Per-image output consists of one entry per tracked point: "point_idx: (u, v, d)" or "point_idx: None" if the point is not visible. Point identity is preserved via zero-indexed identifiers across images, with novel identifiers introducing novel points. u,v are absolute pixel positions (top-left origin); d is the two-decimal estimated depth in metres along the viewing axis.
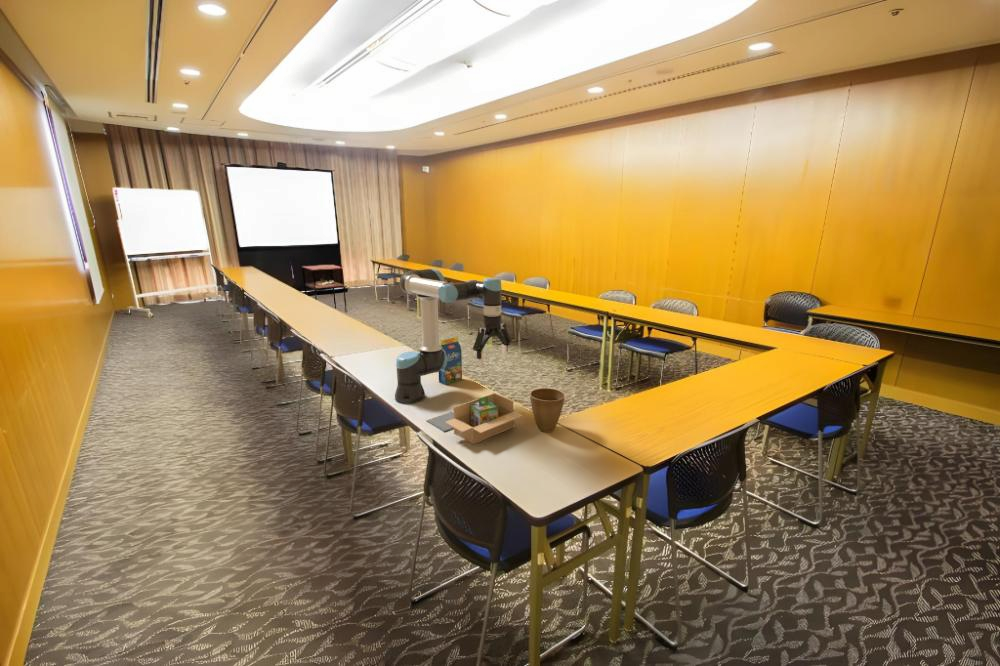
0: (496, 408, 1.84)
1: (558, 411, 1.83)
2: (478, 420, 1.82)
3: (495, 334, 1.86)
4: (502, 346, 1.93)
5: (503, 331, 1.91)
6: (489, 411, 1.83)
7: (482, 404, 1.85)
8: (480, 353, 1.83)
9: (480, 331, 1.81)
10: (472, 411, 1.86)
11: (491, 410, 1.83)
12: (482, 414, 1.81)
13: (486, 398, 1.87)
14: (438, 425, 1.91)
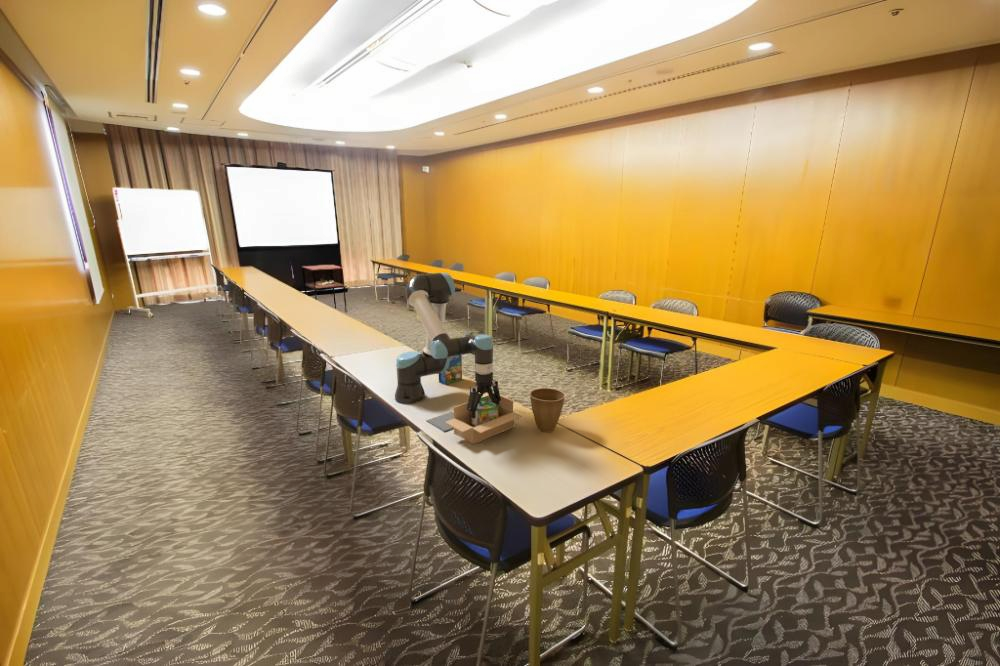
0: (496, 408, 1.84)
1: (558, 411, 1.83)
2: (478, 420, 1.82)
3: (487, 391, 1.84)
4: None
5: (494, 388, 1.88)
6: (489, 411, 1.82)
7: (482, 404, 1.85)
8: (474, 412, 1.82)
9: (472, 391, 1.79)
10: None
11: (491, 410, 1.83)
12: (482, 414, 1.81)
13: (486, 398, 1.87)
14: (438, 425, 1.91)
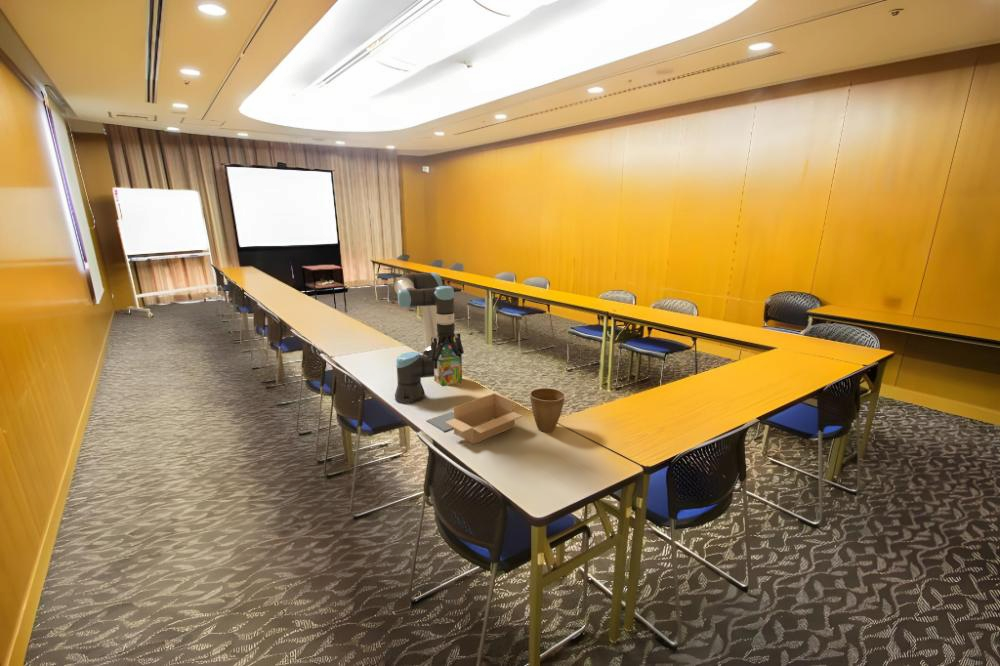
0: (458, 359, 1.87)
1: (558, 411, 1.83)
2: (440, 370, 1.85)
3: (449, 342, 1.87)
4: None
5: (457, 340, 1.91)
6: (450, 362, 1.85)
7: (444, 356, 1.88)
8: (436, 363, 1.85)
9: (433, 341, 1.82)
10: None
11: (453, 360, 1.86)
12: (443, 365, 1.84)
13: (448, 350, 1.90)
14: (438, 425, 1.91)
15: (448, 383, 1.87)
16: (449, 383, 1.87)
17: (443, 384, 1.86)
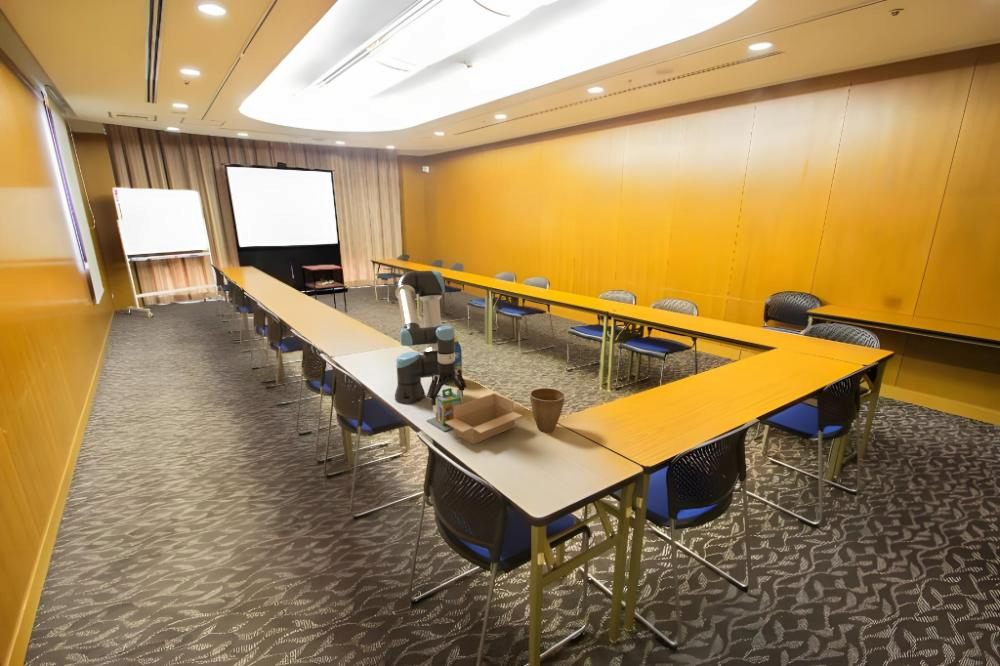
0: (459, 399, 1.92)
1: (558, 411, 1.83)
2: (442, 410, 1.90)
3: (449, 380, 1.91)
4: (457, 391, 1.98)
5: (458, 376, 1.95)
6: (452, 402, 1.90)
7: (446, 395, 1.93)
8: (434, 400, 1.88)
9: (433, 379, 1.86)
10: None
11: (454, 401, 1.91)
12: (445, 405, 1.88)
13: (450, 390, 1.94)
14: (438, 425, 1.91)
15: None
16: None
17: (444, 424, 1.90)
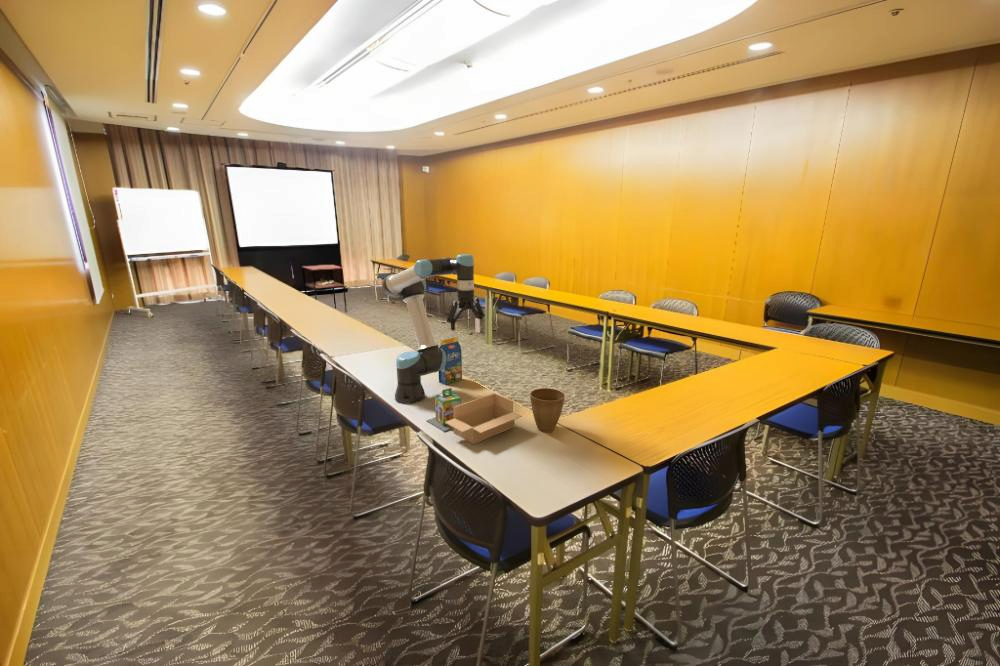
0: (459, 399, 1.92)
1: (558, 411, 1.83)
2: (442, 410, 1.90)
3: (468, 307, 1.99)
4: (476, 320, 2.05)
5: (476, 305, 2.03)
6: (452, 402, 1.90)
7: (446, 395, 1.93)
8: (454, 325, 1.95)
9: (453, 304, 1.94)
10: (436, 402, 1.94)
11: (454, 401, 1.91)
12: (445, 405, 1.88)
13: (450, 390, 1.94)
14: (438, 425, 1.91)
15: None
16: None
17: (444, 424, 1.90)
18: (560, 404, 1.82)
